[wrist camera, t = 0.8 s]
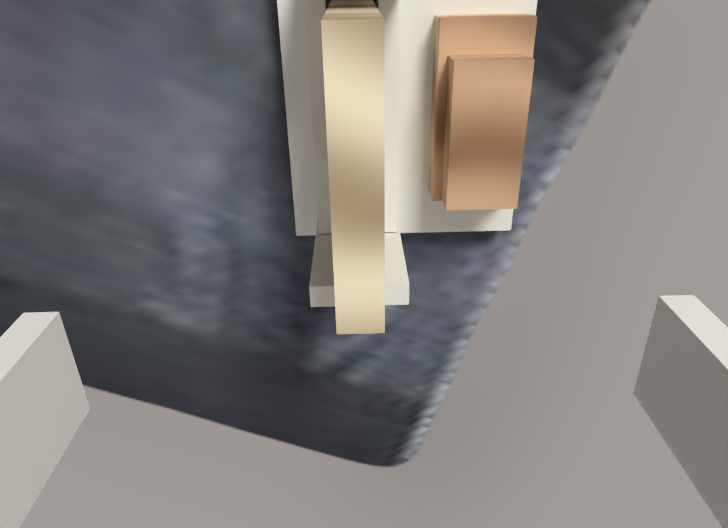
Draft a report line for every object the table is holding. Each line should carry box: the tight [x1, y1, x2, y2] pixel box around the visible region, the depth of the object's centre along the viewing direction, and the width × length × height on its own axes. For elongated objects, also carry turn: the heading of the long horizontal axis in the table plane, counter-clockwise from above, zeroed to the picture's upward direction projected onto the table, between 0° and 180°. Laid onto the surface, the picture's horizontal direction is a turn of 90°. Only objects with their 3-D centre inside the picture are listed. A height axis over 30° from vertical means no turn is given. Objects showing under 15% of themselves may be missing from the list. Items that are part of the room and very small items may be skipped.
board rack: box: [277, 0, 537, 307], centre depth 30 cm, size 16×14×11 cm
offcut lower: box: [428, 13, 537, 201], centre depth 32 cm, size 10×5×2 cm, turn 1°
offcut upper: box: [441, 54, 535, 211], centre depth 31 cm, size 8×4×2 cm, turn 1°
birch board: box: [321, 0, 385, 334], centre depth 27 cm, size 12×2×14 cm, turn 1°
